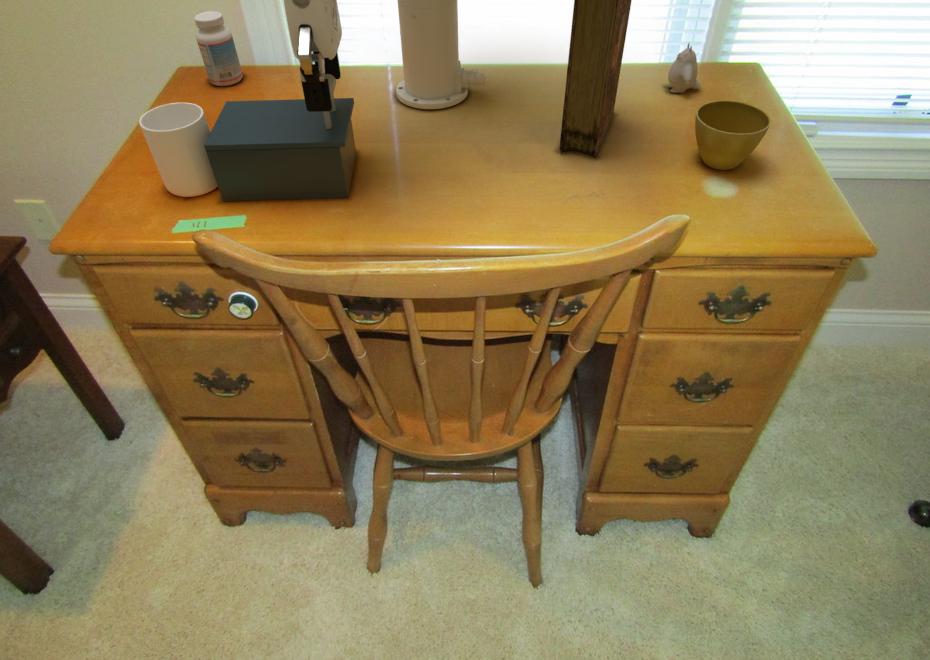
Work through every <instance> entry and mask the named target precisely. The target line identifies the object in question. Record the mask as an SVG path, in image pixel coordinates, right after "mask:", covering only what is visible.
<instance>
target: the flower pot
mask: <svg viewBox="0 0 930 660" xmlns="http://www.w3.org/2000/svg"><path fill="white" fill-rule="evenodd" d="M771 123H772V119H771V117H770V115H769V113H767V112H766V111H765V110H763V109H761V108H760V107H758V106H755V105H753V104H750V103H748V102H744V101H738V100H731V99H720V100H719V99H717V100H713V101H708V102H704V103H702V104H701V105H699V106H698V107H697V109H696V111H695V120H694V132H695V133H694V134H695V141H696V145H697V150H698V153H699V155H700V158H701V160H702V162H703V163H704V165H706V166H708V167H709V168H712V169H713V170H714V169H715V170H720V171H727V170H733V169H735V168H736V167H737V166H739V165H740V164H741V163H743V162H744V161H745V160H746V159H747V158H748V157H749V156H750V155H751V154H752V153H753V152H754V151H755V149H756V148H757V147H758V145H760V143H761V141H762V140H763V139H764V137H765V136H766V133H767V132H768V130H769V128H770V126H771Z"/></svg>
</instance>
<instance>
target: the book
mask: <svg viewBox="0 0 930 660" xmlns="http://www.w3.org/2000/svg"><path fill="white" fill-rule="evenodd" d="M631 6H632V0H573V8H572V9H573V10H572V19H571V28H570V29H571V30H570V40H569V48H568V59H567V70H566V80H565V90H564V99H563V110H562V120H561V128H560V129H561V130H560V139H559V151H561V152H564V151H578V152H582V153H586V154H588V155H590V156H592V157H596V156H597V154H598V152H599V149H600V147H601V145H602V142H603V140H604V137H605V136H606V133H607V131H608V129H609V125H610V123H611V121H612V119H613V116H614V113H615V105H616V99H617V93H618V88H619V87H618V86H619V81H620V74H621V68H622V62H623V56H624V51H625V44H626V37H627V30H628V25H629V18H630V13H631Z"/></svg>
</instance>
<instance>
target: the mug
mask: <svg viewBox="0 0 930 660" xmlns="http://www.w3.org/2000/svg"><path fill="white" fill-rule="evenodd" d="M138 124H139V127H140V129H141V131H142V134H143V137H144V139H145V141H146V144H147V146H148V149H149V151H150V154H151V157H152V159H153V161H154V164H155V167H156V168H157V171H158V173H159V176H160V179H161V181H162V183H163V185H164V187H165V189H166V190H167V191H168V192H169V193H171V194H172V195H175V196H176V197H181V198H182V197H183V198H193V197H199V196H203V195H205V194H209V193H210V192H213V191H214V190H216V189H217V188H218V186H217V183H216V180H215V177H214V174H213V171H212V168H211V165H210V162H209V159H208V156H207V153H206V150H205V148H204V144H205V142H206V140H207V138H208V136H209V134H210V132H211V129H210V127H209V124H208V121H207V118H206V114H205V112H204V110H203V108H202V106H200V105H198V104H196V103H191V102H183V101H181V102H170V103H165V104H161V105H158V106H155V107H153V108H151V109H149V110H147V111H146V112H144V113H143V114H141V116H140V117H139V120H138Z"/></svg>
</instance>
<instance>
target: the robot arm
mask: <svg viewBox="0 0 930 660" xmlns="http://www.w3.org/2000/svg"><path fill="white" fill-rule="evenodd" d="M283 5H284V11H285V16H286V22H287V28H288V33H289V38H290V43H291V47H292V53H293V55H294V57H295V58H296V59H297V60H298V62H299V71H300V82H301V87H302V93H303V97H304V98H303V99H305V103H306V109H307V111H309V112H322V111H331V110H332V102H331V96H330V89H329V83H328V79H325V74H330V75H332V76H334V77H335V79H336V80H340V79H341V76H342V75H341V74H342V73H341V67H340V61H339V53H338V50H339V47H340V45H341V44H340V43H341V40H342V35H343V31H342V30H343V29H342V23H341V17H340V11H339V5H338V0H283ZM458 5H459V4H458V0H397V10H398V11H397V12H398V21H399V33H400V34H399V35H400V47H401V58H402V69H403V79H402V80H401V81H399V83H398V84H397V85H396V88H395V93H396V98H397V99H398V101H400V102H401V103H402V104H404V105H406V106H408V107H410V108H415V109H419V110H440V109H441V110H442V109H445V108H450V107H453V106H456V105H458V104H460V103H462V102H463V101H464V100H465V99H466V98H467V96H468V94H469V86H475V87H476V86H477V87H479V86H486V73H479V71H478V70H479V69H478V68H475V69H474V68H472V69H471V68H470V69H465V67H461V66H462V65H461V60H459V59H460V58H459V55H460V54H459V20H458V19H459V14H458V13H459V12H458V10H459V8H458Z"/></svg>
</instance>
